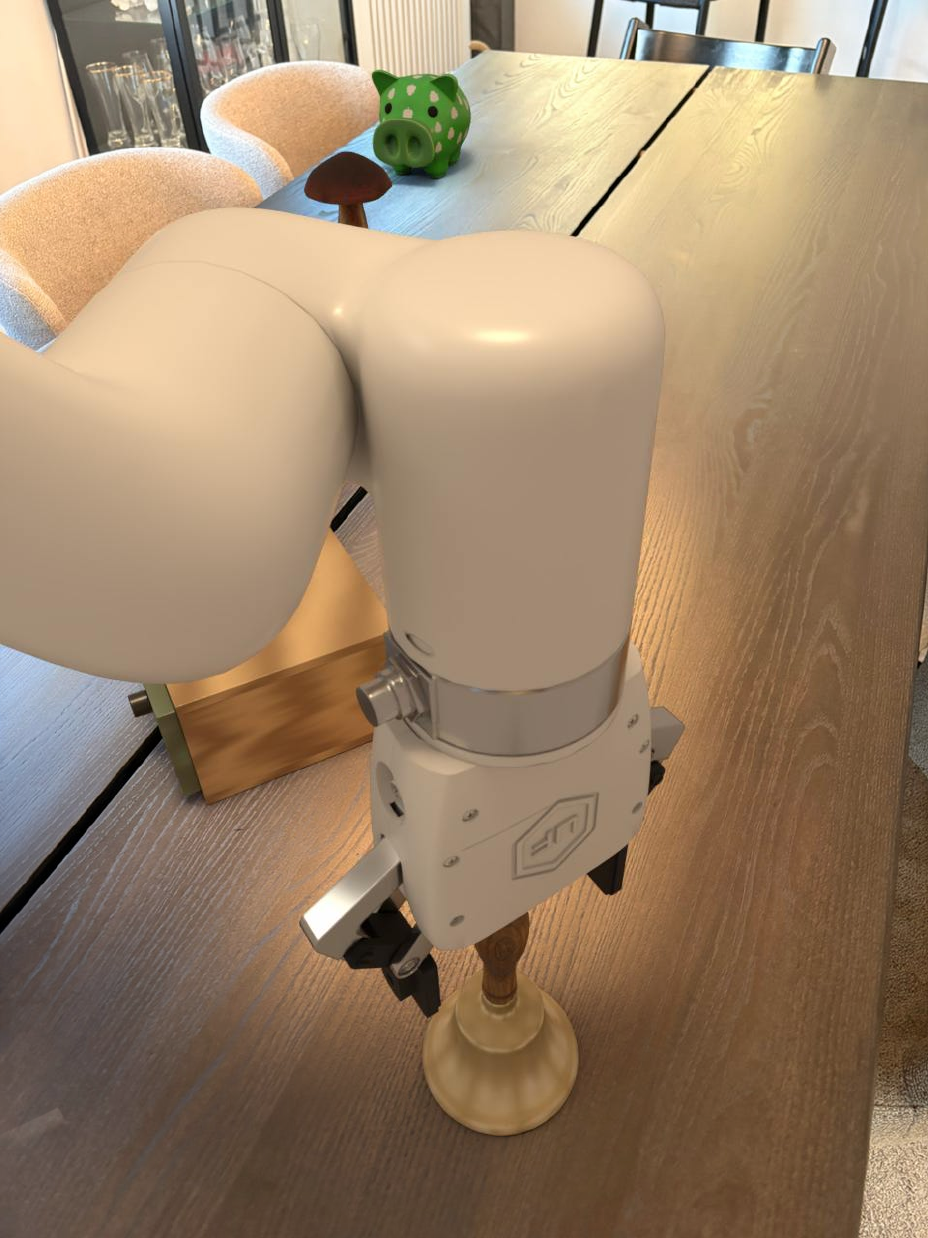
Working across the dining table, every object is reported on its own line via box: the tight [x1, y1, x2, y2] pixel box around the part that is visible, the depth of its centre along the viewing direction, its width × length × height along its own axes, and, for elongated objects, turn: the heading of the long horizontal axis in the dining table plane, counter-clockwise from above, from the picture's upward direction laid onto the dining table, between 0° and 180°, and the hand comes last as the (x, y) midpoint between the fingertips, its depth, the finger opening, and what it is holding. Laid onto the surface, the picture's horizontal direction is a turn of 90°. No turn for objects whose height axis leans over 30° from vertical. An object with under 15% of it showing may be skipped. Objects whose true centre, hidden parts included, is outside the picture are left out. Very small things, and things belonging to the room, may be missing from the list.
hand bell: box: [421, 911, 580, 1137], centre depth 45 cm, size 8×8×16 cm
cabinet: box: [165, 526, 388, 806], centre depth 66 cm, size 15×13×10 cm
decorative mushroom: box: [303, 150, 393, 229], centre depth 122 cm, size 11×11×15 cm
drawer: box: [127, 684, 202, 798], centre depth 66 cm, size 15×11×8 cm
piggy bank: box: [371, 69, 472, 179], centre depth 152 cm, size 14×18×15 cm
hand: (507, 926), depth 42 cm, fingers open, 9 cm apart
